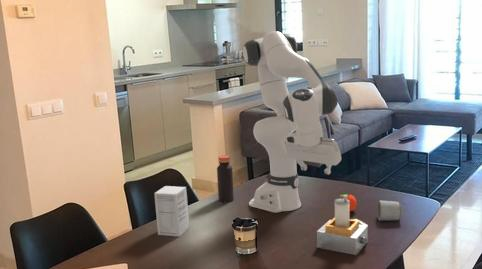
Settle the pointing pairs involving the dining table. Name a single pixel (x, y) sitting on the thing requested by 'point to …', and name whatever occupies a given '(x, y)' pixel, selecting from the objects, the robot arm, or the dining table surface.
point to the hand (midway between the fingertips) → (316, 171)
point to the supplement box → (172, 211)
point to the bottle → (225, 179)
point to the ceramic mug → (389, 210)
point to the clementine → (351, 202)
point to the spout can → (342, 212)
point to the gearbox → (342, 237)
